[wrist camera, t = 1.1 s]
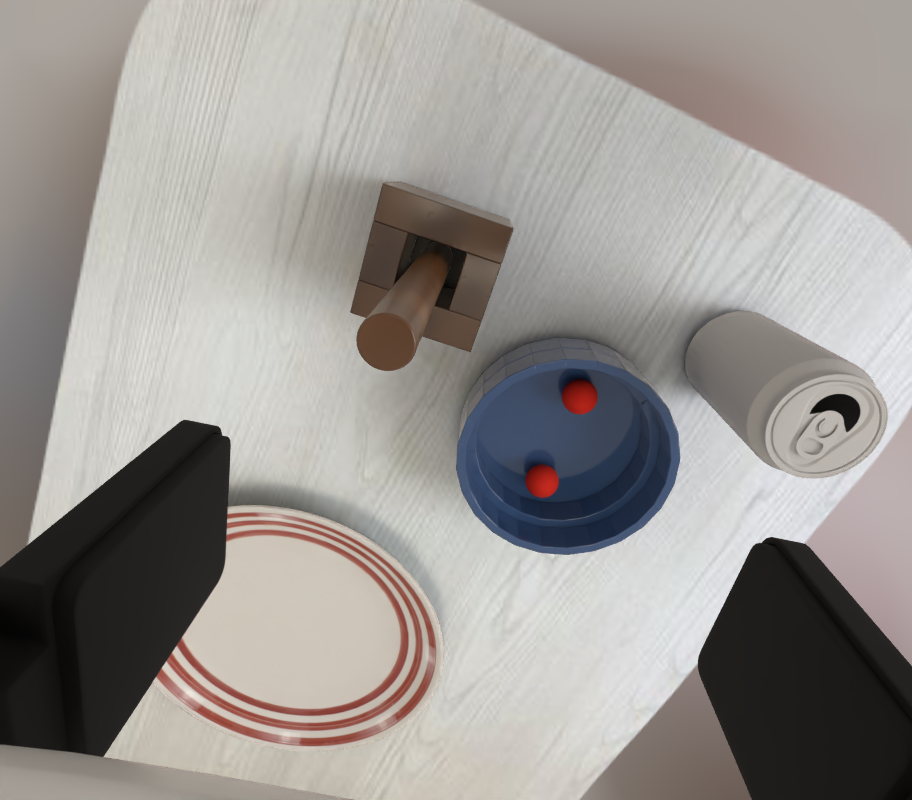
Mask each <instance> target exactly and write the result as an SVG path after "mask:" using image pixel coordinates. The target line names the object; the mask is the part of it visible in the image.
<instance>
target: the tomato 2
mask: <svg viewBox="0 0 912 800" xmlns="http://www.w3.org/2000/svg"><path fill="white" fill-rule="evenodd" d="M597 400H598V393H597V390H596V388H595V387H594V385H593V384H592V383H590V382H589V381H587V380H584V379H576V380H573V381H571V382H569V383H568V384H567V385H566V386H565V387H564V389H563V392H562V402H563V404H564V406H565V408H566V409H567V410H568V411H570V412H572V413H574V414H585V413H588V412H590V411H591V410H592V409H593V408H594V407H595V405H596V403H597Z"/></svg>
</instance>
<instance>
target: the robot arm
mask: <svg viewBox="0 0 912 800" xmlns="http://www.w3.org/2000/svg"><path fill="white" fill-rule="evenodd" d="M230 447H231V445H230V439H229V438H228V437H226V436H222V433H221V429H220V428H219V427H218V426H214V425H209V424H204V423H199V422H194V421H189V420H183V421H181V422H179V423H178V424H177V425H176V426H175V427H173V428H172V429H171V430H170V431H168V432H167V433H166V434H165V435H163V436H162V437H161V438H160V439H158V440H157V441H156V442H155V443H153V444H152V445H151V446H150V447H149V448H147V449H146V450H145V451H144V452H142V453H141V454H140V455H139V456H137V457H136V458H135V459H134V460H132V461H131V462H130V463H129V464H128V465H126V466H125V467H124V468H123V469H121V470H120V471H119V472H118V473H116V474H115V475H114V476H113V477H111V478H110V479H109V480H108V481H106V482H105V483H104V484H103V485H102V486H100V487H99V488H98V489H97V490H95V491H94V492H93V493H92V494H90V495H89V496H88V497H87V498H85V499H84V500H83V501H82V502H80V503H79V504H78V505H77V506H76V507H74V508H73V509H72V510H71V511H69V512H68V513H67V514H66V515H64V516H63V517H62V518H61V519H59V520H58V521H57V522H56V523H54V524H53V525H52V526H51V527H50V528H48V529H47V530H46V531H45V532H43V533H42V534H41V535H40V536H38V537H37V538H36V539H35V540H33V541H32V542H31V543H30V544H29V545H27V546H26V547H25V548H24V549H22V550H21V551H20V552H19V553H17V554H16V555H15V556H14V557H13V558H11V559H10V560H9V561H7V562H6V563H5V564H4V565H3V566H1V567H0V800H353V799H347V798H341V797H336V796H330V795H325V794H319V793H313V792H308V791H302V790H296V789H291V788H285V787H280V786H274V785H268V784H263V783H257V782H252V781H246V780H240V779H235V778H229V777H223V776H218V775H212V774H206V773H200V772H193V771H187V770H181V769H175V768H168V767H162V766H156V765H149V764H143V763H137V762H131V761H124V760H118V759H112V758H105V757H103V756H104V755H105V754H106V752H107V751H108V749H109V748H110V746H111V745H112V743H113V741H114V740H115V738H116V737H117V735H118V734H119V732H120V731H121V729H122V728H123V726H124V725H125V723H126V722H127V720H128V719H129V717H130V716H131V714H132V713H133V711H134V710H135V708H136V707H137V705H138V704H139V702H140V701H141V699H142V697H143V696H144V694H145V693H146V691H147V690H148V688H149V687H150V685H151V684H152V682H153V681H154V679H155V678H156V676H157V675H158V673H159V672H160V670H161V669H162V667H163V666H164V664H165V663H166V661H167V660H168V658H169V657H170V655H171V653H172V652H173V650H174V649H175V647H176V646H177V644H178V643H179V641H180V640H181V638H182V637H183V635H184V634H185V632H186V631H187V629H188V628H189V626H190V625H191V623H192V622H193V620H194V619H195V617H196V616H197V614H198V612H199V611H200V609H201V608H202V606H203V605H204V603H205V602H206V600H207V599H208V597H209V596H210V594H211V593H212V591H213V590H214V588H215V587H216V585H217V584H218V582H219V580H220V578H221V576H222V573H223V570H224V566H225V559H226V537H227V515H228V492H229V470H230ZM698 670H699V674H700V677H701V680H702V682H703V684H704V687H705V689H706V691H707V694H708V696H709V698H710V701H711V703H712V706H713V708H714V710H715V713H716V715H717V718H718V720H719V722H720V725H721V727H722V729H723V732H724V734H725V737H726V739H727V741H728V744H729V746H730V748H731V751H732V753H733V755H734V758H735V760H736V762H737V765H738V767H739V770H740V772H741V774H742V777H743V779H744V782H745V784H746V786H747V789H748V791H749V793H750V796H751V798H752V800H912V666H911V665H910V664H909V662H908V661H907V660H906V659H905V658H904V657H903V655H901V653H900V652H899V651H898V650H897V649H896V647H895V646H894V645H893V644H892V643H891V641H890V640H889V639H888V638H887V637H886V636H885V635H884V633H883V632H882V631H881V630H880V629H879V628H878V626H877V625H876V624H875V623H874V622H873V621H872V619H871V618H870V617H869V616H868V615H867V614H866V612H864V610H863V609H862V608H861V607H860V606H859V604H858V603H857V602H856V601H855V600H854V598H853V597H852V596H851V595H850V594H849V593H848V591H847V590H846V589H845V588H844V587H843V586H842V585H841V583H840V582H839V581H838V580H837V579H836V578H835V576H834V575H833V574H832V573H831V572H830V571H829V570H828V568H827V567H826V566H825V565H824V564H823V562H822V561H821V560H820V559H819V558H818V557H817V555H816V554H815V553H814V552H813V551H812V550H811V548H810V547H808V546H807V545H806V544H803V543H798V542H793V541H789V540H784V539H779V538H774V537H770V538H767V539H765V540H764V541H763V542H762V543H758V544H755V545H754V546H753V547H752V549H751V550H750V552H749V554H748V556H747V558H746V561H745V563H744V565H743V567H742V569H741V571H740V573H739V575H738V577H737V579H736V581H735V583H734V585H733V587H732V589H731V591H730V593H729V595H728V597H727V599H726V601H725V603H724V605H723V607H722V609H721V611H720V613H719V615H718V617H717V619H716V621H715V623H714V625H713V627H712V629H711V631H710V633H709V635H708V637H707V639H706V641H705V643H704V645H703V647H702V649H701V651H700V654H699V658H698Z"/></svg>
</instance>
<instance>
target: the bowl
mask: <svg viewBox="0 0 912 800" xmlns="http://www.w3.org/2000/svg"><path fill="white" fill-rule="evenodd" d="M576 379H584V380H587V381H589V382H590V383H592V384H593V385H594V387H595V388H596V390H597V393H598V400H597V403H596V405H595V407H594V408H593V409H592V410H591V411H590V412H588V413H585V414H574V413H572V412H570V411H568V410H567V409H566V408H565V406H564V404H563V402H562V392H563V389H564V387H565V386H566V385H567V384H568V383H569V382H571V381H573V380H576ZM679 462H680V448H679V434H678V431H677V428H676V426H675V423H674V421H673V418H672V416H671V413H670V411H669V409H668V407H667V406H666V404H665V403H664V402H663V400H662V399H661V398H660V397H659V395H658V394H657V393H656V391H655V390H654V389H653V387H652V386H651V385H650V383H649V382H648V381H647V380H646V378H645V377H644V376H643V375H642V373H641V372H640V371H639V370H638V369H637V367H636V366H635V365H634V364H633V363H632V362H631V361H629V360H628V359H626V358H625V357H623V356H622V355H620V354H619V353H617V352H616V351H615V350H613V349H611V348H609V347H606V346H603V345H600V344H597V343H594V342H591V341H588V340H584V339H570V338H552V339H547V340H542V341H536V342H531V343H528V344H526V345H524V346H522V347H519V348H517V349H515V350H513V351H511V352H509V353H506V354H505V355H503V356H502V357H501V358H500V359H498V360H497V361H496V362H495V363H494V364H492V365H491V366H490V367H489V368H487V369H486V370H485V372H483V373H482V375H481V376H480V378H479V379H478V380H477V382H476V383H475V385H474V386H473V387H472V389H471V390H470V393H469V394H468V397H467V400H466V402H465V405H464V408H463V411H462V414H461V420H460V428H459V437H458V447H457V464H456V470H457V474H458V478H459V482H460V487H461V491H462V493H463V495H464V497H465V499H466V500H467V502H468V504H469V506H470V507H471V509H472V511H473V513H474V514H475V515H476V516H477V517H478V518H479V519H480V520H481V521H482V522H483V523H484V524H485V525H486V526H487V527H488V528H489V529H490V530H491V531H492V532H493V533H495V534H496V535H498V536H500V537H502V538H503V539H505V540H507V541H508V542H510V543H512V544H514V545H516V546H519V547H523V548H526V549H529V550H533V551H536V552H539V553H549V554H562V555H570V554H577V553H585V552H592V551H596V550H599V549H602V548H604V547H607V546H610V545H613V544H615V543H618V542H619V541H620V542H621V541H622V540H624V539H625V538H627V537H628V536H630V535H632V534H633V533H635V532H636V531H638V530H639V529H641V528H642V527H644V526H645V525H646V524H647V523H648V521H649V520H650V519H651V518H652V517H653V516H654V515H655V514H656V513H657V512H658V511H659V510H660V509H661V507H662V506H663V504H664V502H665V501H666V499H667V497H668V495H669V493H670V492H671V490H672V488H673V486H674V484H675V480H676V475H677V471H678V467H679ZM540 464H543V465H548V466H550V467H551V468H553V469H554V470H555V472H556V473H557V475H558V479H559V484H558V488H557V490H556V491H555V492H554V493H553V494H552V495H551V496H549V497H545V498H540V497H536V496H534V495H532V494H531V493H530V492H529V491H528V489H527V487H526V483H525V479H526V475H527V473H528V471H529V470H530V469H531V468H532V467H534V466H536V465H540Z"/></svg>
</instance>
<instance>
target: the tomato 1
mask: <svg viewBox="0 0 912 800" xmlns="http://www.w3.org/2000/svg"><path fill="white" fill-rule="evenodd" d="M525 483H526V487H527V489H528V491H529V492H530V493H531V494H532V495H534V496H536V497H540V498H545V497H549V496H551V495H552V494H553V493H554V492H555V491H556V490H557V488H558V484H559V479H558V475H557V473H556V472H555V470H554V469H553V468H551V467H550V466H548V465H543V464H540V465H536V466H534V467H532V468H531V469H530V470H529V471H528V473H527V475H526V479H525Z"/></svg>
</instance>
